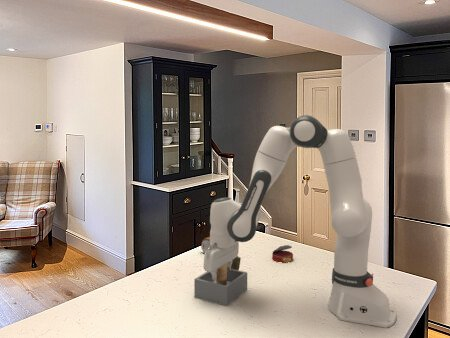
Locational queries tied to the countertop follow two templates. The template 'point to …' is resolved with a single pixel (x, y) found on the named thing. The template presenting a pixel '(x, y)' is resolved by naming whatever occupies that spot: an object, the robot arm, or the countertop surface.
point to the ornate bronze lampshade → (236, 263)
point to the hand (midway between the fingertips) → (221, 275)
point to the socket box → (220, 287)
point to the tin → (205, 244)
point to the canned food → (282, 254)
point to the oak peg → (222, 275)
